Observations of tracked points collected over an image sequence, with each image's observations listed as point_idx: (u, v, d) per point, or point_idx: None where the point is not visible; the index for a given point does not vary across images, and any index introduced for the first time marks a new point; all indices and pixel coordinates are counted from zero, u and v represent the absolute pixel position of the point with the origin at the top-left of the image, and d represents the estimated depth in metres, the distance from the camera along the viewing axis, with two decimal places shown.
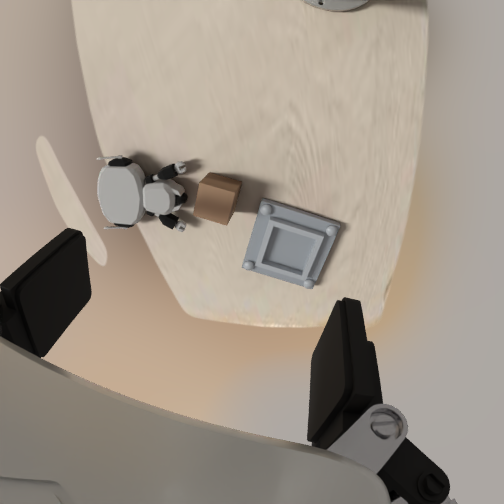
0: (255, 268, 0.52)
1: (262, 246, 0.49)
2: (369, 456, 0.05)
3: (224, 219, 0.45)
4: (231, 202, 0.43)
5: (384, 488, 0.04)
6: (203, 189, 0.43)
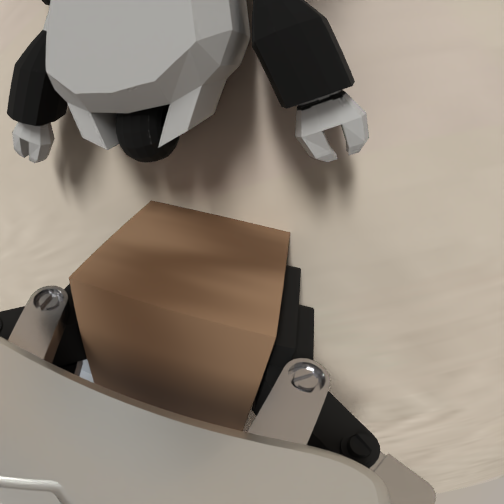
0: None
1: None
2: (282, 404, 0.06)
3: None
4: None
5: (384, 488, 0.04)
6: (233, 351, 0.07)
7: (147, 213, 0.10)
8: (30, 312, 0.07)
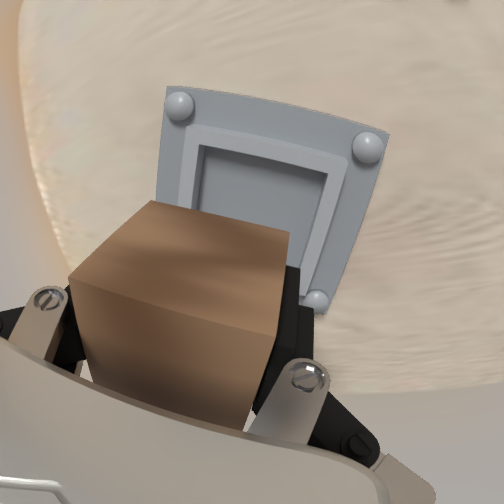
0: (172, 125, 0.17)
1: (256, 143, 0.15)
2: (282, 403, 0.06)
3: None
4: None
5: (384, 489, 0.04)
6: (233, 351, 0.07)
7: (146, 212, 0.10)
8: (30, 312, 0.07)
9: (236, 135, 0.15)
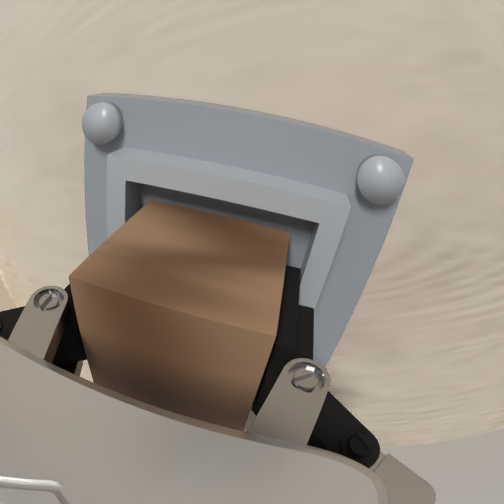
0: (96, 150, 0.11)
1: (206, 178, 0.10)
2: (282, 403, 0.06)
3: None
4: None
5: (384, 488, 0.04)
6: (234, 350, 0.07)
7: (147, 212, 0.10)
8: (30, 312, 0.07)
9: (177, 166, 0.10)
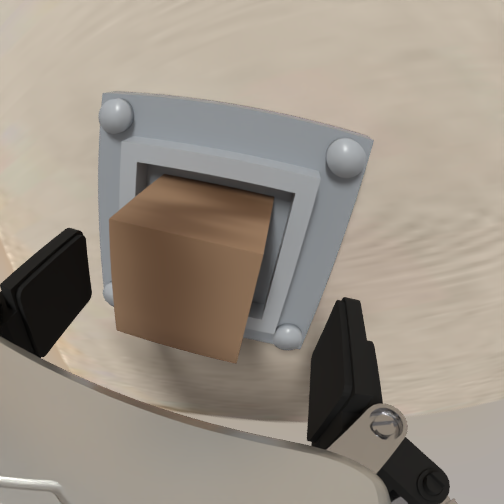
0: (109, 139, 0.13)
1: (204, 158, 0.12)
2: (369, 456, 0.05)
3: (133, 326, 0.12)
4: (199, 351, 0.12)
5: (385, 488, 0.04)
6: (233, 269, 0.10)
7: (162, 181, 0.13)
8: None
9: (180, 149, 0.12)
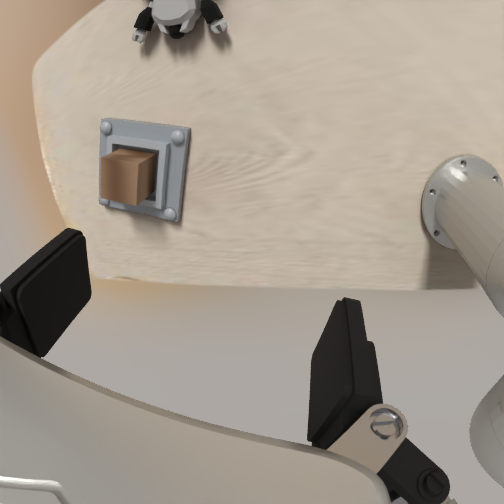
0: (104, 135, 0.36)
1: (132, 141, 0.35)
2: (369, 456, 0.05)
3: (105, 194, 0.35)
4: (125, 202, 0.35)
5: (384, 489, 0.04)
6: (131, 169, 0.33)
7: (120, 149, 0.36)
8: None
9: (125, 138, 0.35)
